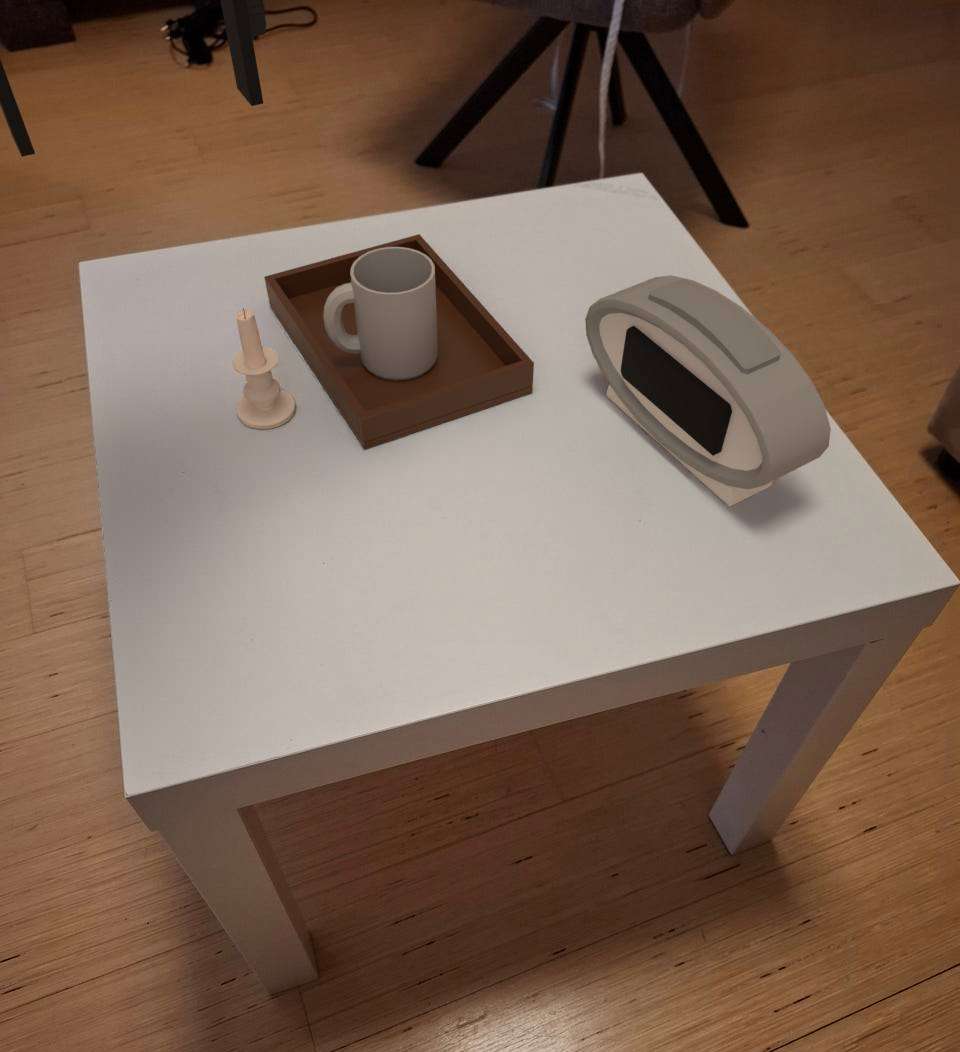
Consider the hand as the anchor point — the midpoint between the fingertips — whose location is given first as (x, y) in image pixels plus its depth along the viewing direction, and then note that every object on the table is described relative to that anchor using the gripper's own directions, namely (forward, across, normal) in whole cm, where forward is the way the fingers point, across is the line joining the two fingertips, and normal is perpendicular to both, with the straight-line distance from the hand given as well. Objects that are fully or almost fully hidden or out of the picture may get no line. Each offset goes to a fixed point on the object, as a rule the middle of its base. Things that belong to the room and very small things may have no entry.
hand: (141, 120), depth 56 cm
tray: (+29, +19, +10) cm, 36 cm away
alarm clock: (+29, +36, -13) cm, 48 cm away
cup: (+28, +17, +8) cm, 34 cm away
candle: (+29, +5, +7) cm, 30 cm away
